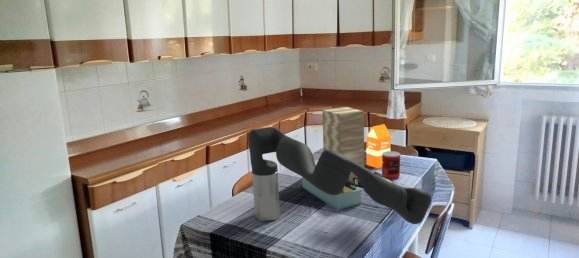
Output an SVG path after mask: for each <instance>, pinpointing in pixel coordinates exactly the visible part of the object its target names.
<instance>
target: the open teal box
mask: <svg viewBox="0 0 579 258" xmlns="http://www.w3.org/2000/svg"><path fill="white" fill-rule="evenodd" d="M301 179H302V188H303V189H304V190H305V191H307V192H308V193H310V194H311V195H313V196H315V197H316V198H318V199H319V200H320V201H322V202H324V203H326V204H327V205H329V206H330V207H331V208H333V209H335V210H336V211H340V210H344V209H348V208H352V207H357V206H359V205H361V202H362V201H361V199H362V198H361V196H362V195H361V194H362V193H361V191H362V189H361V188H359V187H356V190H353V191H351V192H347V193H340V194H339V195H329V194H327V193H325V192H323V191H321V190H319V189H318V188H316V187H315V186H313V185H312V184H311V183H310V182H308V181H307V180H306V179H304V178H303V177H302V176H301Z"/></svg>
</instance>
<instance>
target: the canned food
mask: <svg viewBox="0 0 579 258" xmlns="http://www.w3.org/2000/svg"><path fill="white" fill-rule="evenodd" d="M400 173H401V153H400V152H398V151H396V150H395V151H392V150H390V151H386V152H383V153H382V167H381V174H382V175H384V176H385V178H386V179H388V180H397V179H399V178H400V176H401V175H400Z"/></svg>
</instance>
